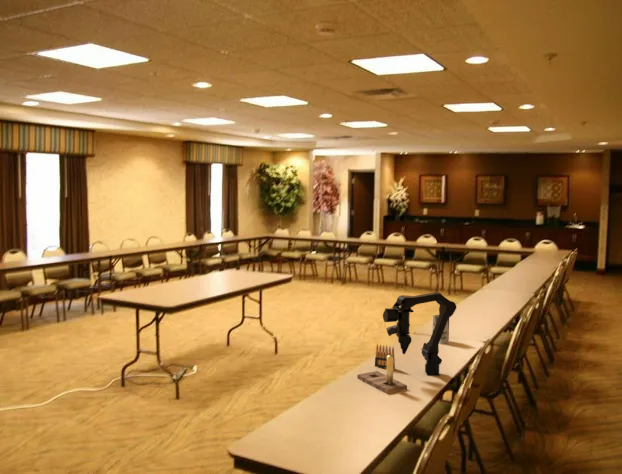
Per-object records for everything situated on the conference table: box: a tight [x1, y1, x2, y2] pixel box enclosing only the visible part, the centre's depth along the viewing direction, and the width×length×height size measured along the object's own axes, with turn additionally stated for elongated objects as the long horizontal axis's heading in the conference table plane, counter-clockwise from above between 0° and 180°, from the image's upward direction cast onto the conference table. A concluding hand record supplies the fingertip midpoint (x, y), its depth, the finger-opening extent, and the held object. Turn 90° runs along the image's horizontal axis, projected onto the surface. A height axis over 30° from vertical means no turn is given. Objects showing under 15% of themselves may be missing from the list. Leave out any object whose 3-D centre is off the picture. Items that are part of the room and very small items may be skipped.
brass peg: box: [385, 355, 395, 386], centre depth 267 cm, size 3×3×16 cm
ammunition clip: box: [374, 344, 396, 370], centre depth 298 cm, size 11×2×12 cm, turn 62°
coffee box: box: [432, 314, 450, 345], centre depth 349 cm, size 9×6×16 cm
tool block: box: [356, 370, 408, 395], centre depth 273 cm, size 24×12×2 cm, turn 30°
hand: (402, 351), depth 283 cm, fingers open, 9 cm apart
